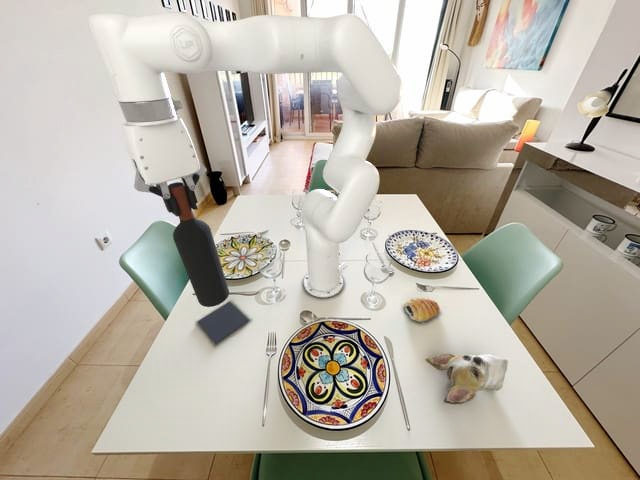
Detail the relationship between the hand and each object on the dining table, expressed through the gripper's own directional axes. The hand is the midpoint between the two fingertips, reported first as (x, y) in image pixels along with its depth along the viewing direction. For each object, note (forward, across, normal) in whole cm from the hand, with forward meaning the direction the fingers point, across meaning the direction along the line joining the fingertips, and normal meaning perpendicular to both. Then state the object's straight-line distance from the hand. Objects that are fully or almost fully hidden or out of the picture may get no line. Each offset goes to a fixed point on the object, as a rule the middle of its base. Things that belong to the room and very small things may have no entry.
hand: (184, 210), depth 54 cm
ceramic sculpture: (+36, -28, +54) cm, 71 cm away
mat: (+35, 0, 0) cm, 35 cm away
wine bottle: (+25, 0, 0) cm, 25 cm away
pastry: (+36, -40, +38) cm, 66 cm away
